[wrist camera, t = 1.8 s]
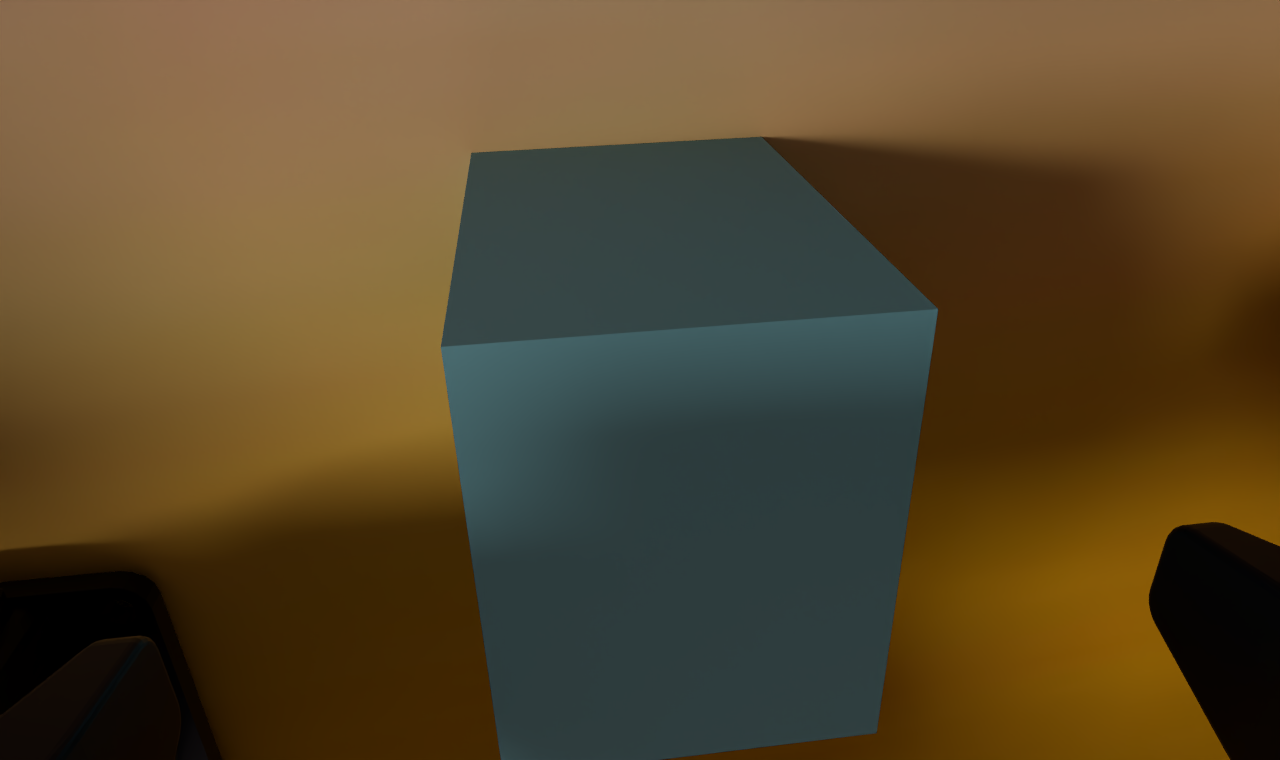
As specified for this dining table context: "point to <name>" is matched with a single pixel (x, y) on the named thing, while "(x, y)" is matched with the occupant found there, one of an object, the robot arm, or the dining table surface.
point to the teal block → (679, 448)
